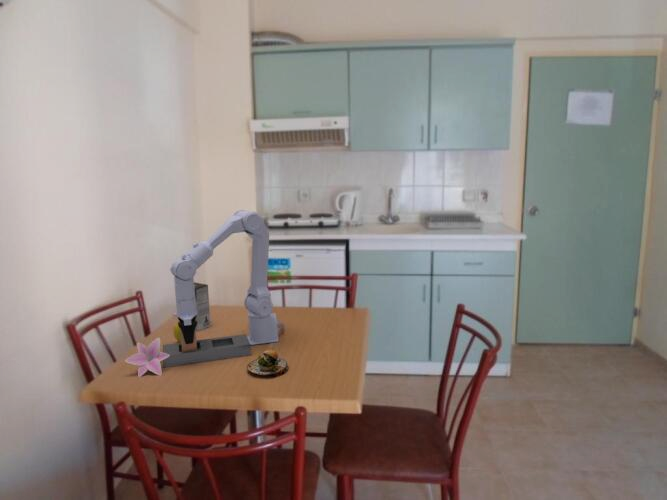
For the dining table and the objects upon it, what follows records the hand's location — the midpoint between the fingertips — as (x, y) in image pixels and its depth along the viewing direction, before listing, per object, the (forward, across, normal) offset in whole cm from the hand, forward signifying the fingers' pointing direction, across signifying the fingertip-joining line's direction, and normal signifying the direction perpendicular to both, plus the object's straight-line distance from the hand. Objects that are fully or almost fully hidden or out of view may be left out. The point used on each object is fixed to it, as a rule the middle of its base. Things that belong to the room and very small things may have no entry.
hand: (189, 340), depth 152 cm
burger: (+6, +18, +21) cm, 28 cm away
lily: (+6, +7, -12) cm, 15 cm away
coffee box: (+6, -30, +3) cm, 31 cm away
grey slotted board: (+6, 0, +5) cm, 7 cm away
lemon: (+6, -14, -2) cm, 15 cm away
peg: (+3, 0, 0) cm, 3 cm away
